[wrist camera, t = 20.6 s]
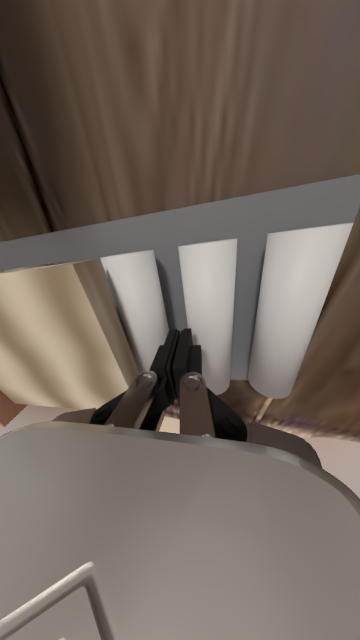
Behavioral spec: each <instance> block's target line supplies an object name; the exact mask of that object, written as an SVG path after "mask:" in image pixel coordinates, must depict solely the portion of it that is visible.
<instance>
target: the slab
mask: <svg viewBox="0 0 360 640" xmlns="http://www.w3.org/2000/svg"><path fill="white" fill-rule="evenodd" d="M137 375H139V371H138V369H137V366H136V363H135V361H134V358H133V355H132V353H131V350H130V347H129V345H128V342H127V339H126V337H125V334H124V331H123V329H122V326H121V323H120V321H119V318H118V315H117V313H116V310H115V307H114V305H113V302H112V299H111V297H110V294H109V291H108V289H107V286H106V283H105V280H104V278H103V275H102V272H101V270H100V267H99V264H98V262H97V259H94V260H87V261H80V262H72V263H65V264H58V265H50V266H43V267H36V268H29V269H21V270H14V271H7V272H0V390H1V391H2V392H3V393H4V394H5V395H6V396H7V397H8V398H10V399H11V400H12V401H13V402H14V403H15V404H26V405H38V406H50V407H61V408H73V409H91V408H96V409H98V408H100V407H101V406H102V405H104V404H105V403H107V402H109V401H110V400H112V399H113V398H115V397H117V396H118V395H120V394H121V393H123V392H125V391H126V390H127V389H128V388H129V386H130V385H131V383H132V382H133V380H134V379H135V378H136V376H137Z"/></svg>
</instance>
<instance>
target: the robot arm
mask: <svg viewBox="0 0 360 640" xmlns="http://www.w3.org/2000/svg"><path fill="white" fill-rule="evenodd" d="M177 397H178V402H179V407H180V434H176V433H167V432H159V430H160V427H161V424H162V421H163V419H164V416H165V413H166V408H167V407H169V406H170V404H174V399H177ZM0 640H360V499H359V498H358V497H357V496H356V494H355V493H354V492H352V490H350V489H349V488H348V487H347V486H346V485H345V484H343V483H342V482H341V481H340V480H338V479H337V478H336V477H334V476H333V475H331V474H330V473H328V472H326V471H325V470H324V469H322V466H321V463H320V459H319V458H318V455H317V453H316V451H315V450H314V449H313V448H312V446H311V445H310V444H309V443H308V442H306V441H305V440H304V439H302V438H300V437H298V436H296V435H293V434H290V433H287V432H284V431H280V430H277V429H274V428H271V427H268V426H265V425H262V424H258V423H255V422H252V421H251V423H249V422H246V421H243V420H242V419H241V418H240V417H239V416H238V415H237V414H236V413H235V412H234V411H233V410H232V409H231V408H230V407H228V406H227V405H226V404H225V403H224V402H223V401H222V400H221V399H220V398H219V397H217V396H216V395H215V394H214V393H213V392H212V391H211V390H210V389H209V388H208V387H206V383H205V379H204V377H203V376H202V349H201V345H193V340H192V330H191V328H184V330H181V334H180V330H177V329H170V330H169V332H168V335H167V338H166V340H165V343H164V345H160V346H159V348H158V350H157V353H156V355H155V357H154V360H153V362H152V365H151V367H150V370H149V371H144V372H142V373H140V374H139V375H137V376H136V378H135V379H134V380H133V382H132V383H131V385H130V386H129V388H128V389H127V390H126V391H125V392H123V393H121V394H120V395H118V396H117V397H115V398H113V399H112V400H110V401H109V402H107V403H105V404H104V405H102V406H101V407H100V408H98V409H96V408H91V409H85V410H79V411H73V412H67V413H64V414H61V415H59V416H58V417H56V418H55V419H54V420H53V421H51V422H50V421H49V422H40V423H35V424H30V425H27V426H24V427H21V428H18V429H15V430H13V431H10V432H8V433H6V434H4V435H2V436H1V437H0Z"/></svg>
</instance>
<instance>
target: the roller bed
mask: <svg viewBox="0 0 360 640" xmlns="http://www.w3.org/2000/svg"><path fill="white" fill-rule="evenodd" d="M359 207H360V174H358V175H353V176H348V177H343V178H337V179H332V180H327V181H321V182H316V183H311V184H305V185H300V186H295V187H290V188H284V189H279V190H274V191H268V192H263V193H258V194H253V195H247V196H242V197H237V198H231V199H226V200H221V201H216V202H210V203H205V204H200V205H194V206H189V207H184V208H179V209H173V210H168V211H163V212H157V213H152V214H147V215H142V216H136V217H131V218H126V219H120V220H115V221H110V222H104V223H99V224H94V225H89V226H83V227H78V228H73V229H67V230H62V231H57V232H52V233H46V234H41V235H36V236H30V237H25V238H20V239H15V240H9V241H4V242H0V272H4V270H9V269H15V268H21V267H28V266H34V265H41V264H47V263H54V262H62V263H63V264H65V263H72V262H80V261H87V260H94V259H97V262H98V264H99V267H100V270H101V272H102V275H103V278H104V280H105V283H106V286H107V289H108V291H109V294H110V297H111V299H112V302H113V305H114V307H115V310H116V313H117V315H118V318H119V321H120V323H121V326H122V329H123V331H124V334H125V337H126V339H127V342H128V345H129V347H130V350H131V353H132V355H133V358H134V361H135V363H136V366H137V369H138V371H139V374H140V373H142V372H144V371H149V370H150V367H151V365H152V362H153V360H154V357H155V355H156V353H157V350H158V348H159V346H160V345H164V343H165V340H166V338H167V335H168V332H169V330H170V329H177V330H180V334H181V330H184V328H191V330H192V340H193V345H201V349H202V376H203V377H204V379H205V383H206V387H208V388H209V389H210V390H211V391H212V392H213V393H214V394H215V395H219V394H222V393H224V392H225V391H226V390H227V389H228V387H229V384H230V380H249V383H250V384H251V386H252V387H253V388H254V389H255V390H256V391H257V392H259V393H260V394H262V395H264V396H266V397H269V398H274V399H281V398H285V397H287V396H288V395H289V394H290V393H291V390H292V388H293V385H294V382H295V380H296V377H297V374H298V372H299V369H300V366H301V363H302V361H303V358H304V355H305V353H306V350H307V347H308V345H309V342H310V339H311V336H312V334H313V331H314V328H315V326H316V323H317V320H318V318H319V315H320V312H321V310H322V307H323V304H324V301H325V299H326V296H327V293H328V291H329V288H330V285H331V283H332V280H333V277H334V274H335V272H336V269H337V266H338V264H339V261H340V258H341V256H342V253H343V250H344V248H345V245H346V242H347V239H348V237H349V234H350V231H351V229H352V226H353V223H354V221H355V218H356V215H357V213H358V210H359ZM26 406H27V405H26V404H15V403H14V402H13V401H12V400H11V399H10V398H8V397H7V396H6V395H5V394H4V393H3V392H2V391H1V390H0V426H3V427H5V426H6V425H7V424H8V423H9V422H10V421H11V420H12V419H13V418H14V417H16V415H18V414H19V413H20V412H21V411H22V410H23V409H24V408H25V407H26Z"/></svg>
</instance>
